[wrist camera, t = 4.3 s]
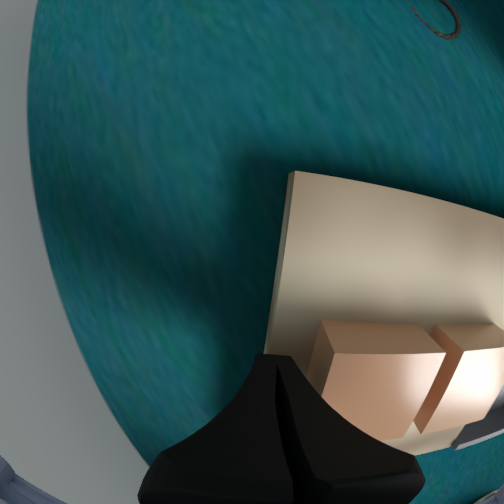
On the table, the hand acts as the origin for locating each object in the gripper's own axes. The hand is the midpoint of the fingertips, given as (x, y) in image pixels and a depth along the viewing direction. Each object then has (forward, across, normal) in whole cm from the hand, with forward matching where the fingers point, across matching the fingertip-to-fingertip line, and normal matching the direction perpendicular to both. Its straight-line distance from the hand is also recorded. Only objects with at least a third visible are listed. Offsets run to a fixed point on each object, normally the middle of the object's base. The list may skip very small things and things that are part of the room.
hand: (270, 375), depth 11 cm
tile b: (+1, -9, 0) cm, 9 cm away
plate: (+3, -7, 0) cm, 8 cm away
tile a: (+1, -4, 0) cm, 4 cm away
